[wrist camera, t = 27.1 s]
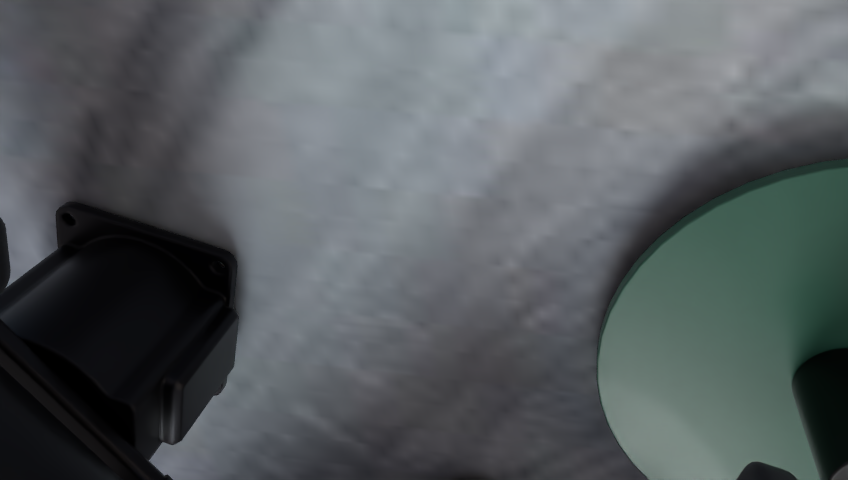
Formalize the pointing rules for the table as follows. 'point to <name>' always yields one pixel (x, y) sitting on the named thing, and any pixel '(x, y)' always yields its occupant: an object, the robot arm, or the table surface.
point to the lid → (737, 335)
